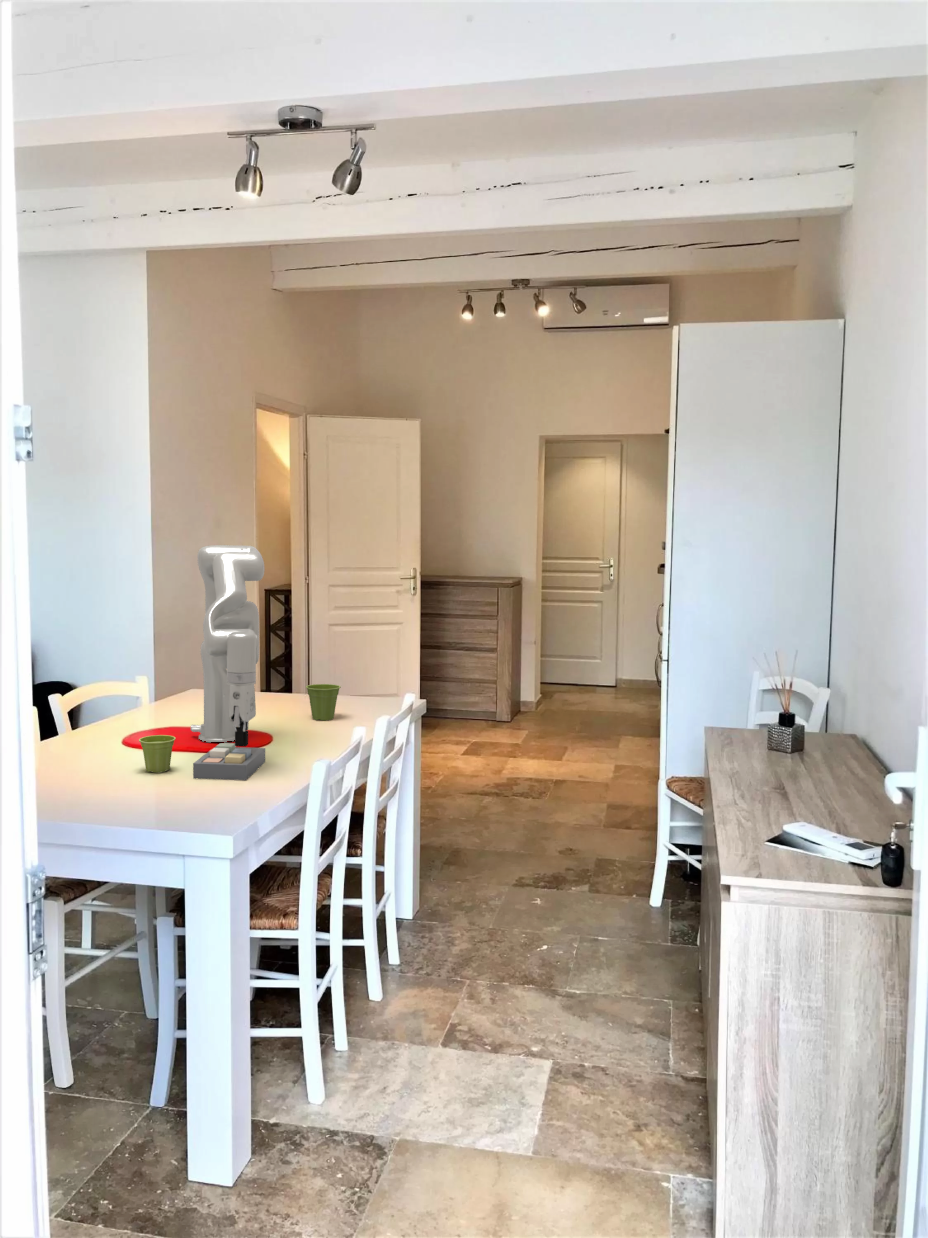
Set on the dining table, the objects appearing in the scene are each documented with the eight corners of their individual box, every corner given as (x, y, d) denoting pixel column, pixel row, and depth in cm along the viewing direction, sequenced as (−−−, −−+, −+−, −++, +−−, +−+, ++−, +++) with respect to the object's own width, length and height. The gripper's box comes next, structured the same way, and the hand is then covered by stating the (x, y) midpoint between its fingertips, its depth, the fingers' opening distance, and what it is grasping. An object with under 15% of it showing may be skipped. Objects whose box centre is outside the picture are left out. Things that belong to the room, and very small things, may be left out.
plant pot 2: (347, 718, 349) (347, 686, 348) (325, 723, 339) (325, 690, 338) (321, 714, 355) (321, 682, 354) (298, 719, 345) (298, 686, 344)
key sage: (216, 757, 279) (216, 746, 279) (220, 753, 283) (220, 742, 283) (231, 757, 279) (231, 746, 279) (235, 754, 283) (235, 743, 283)
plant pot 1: (142, 776, 267) (142, 743, 266) (136, 768, 275) (136, 736, 274) (179, 772, 271) (178, 740, 270) (171, 764, 280) (171, 733, 279)
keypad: (193, 778, 266) (193, 763, 265) (216, 760, 286) (216, 746, 285) (246, 780, 265) (246, 765, 265) (265, 762, 285) (265, 748, 284)
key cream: (209, 762, 273) (209, 751, 273) (214, 758, 277) (214, 747, 277) (224, 762, 273) (224, 751, 273) (229, 759, 277) (229, 748, 277)
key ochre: (225, 768, 267) (225, 757, 267) (229, 764, 271) (229, 753, 271) (240, 769, 267) (240, 757, 266) (245, 765, 271) (245, 754, 271)
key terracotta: (202, 773, 267) (202, 761, 267) (207, 769, 272) (207, 758, 271) (218, 773, 267) (218, 762, 267) (222, 769, 271) (222, 758, 271)
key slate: (231, 763, 273) (231, 752, 273) (235, 759, 277) (235, 748, 277) (247, 763, 273) (246, 752, 272) (251, 759, 277) (251, 749, 277)
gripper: (247, 682, 265) (247, 752, 266) (262, 674, 280) (262, 740, 281) (219, 682, 265) (219, 751, 267) (235, 674, 280) (235, 739, 282)
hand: (241, 745), depth 274 cm, fingers closed
